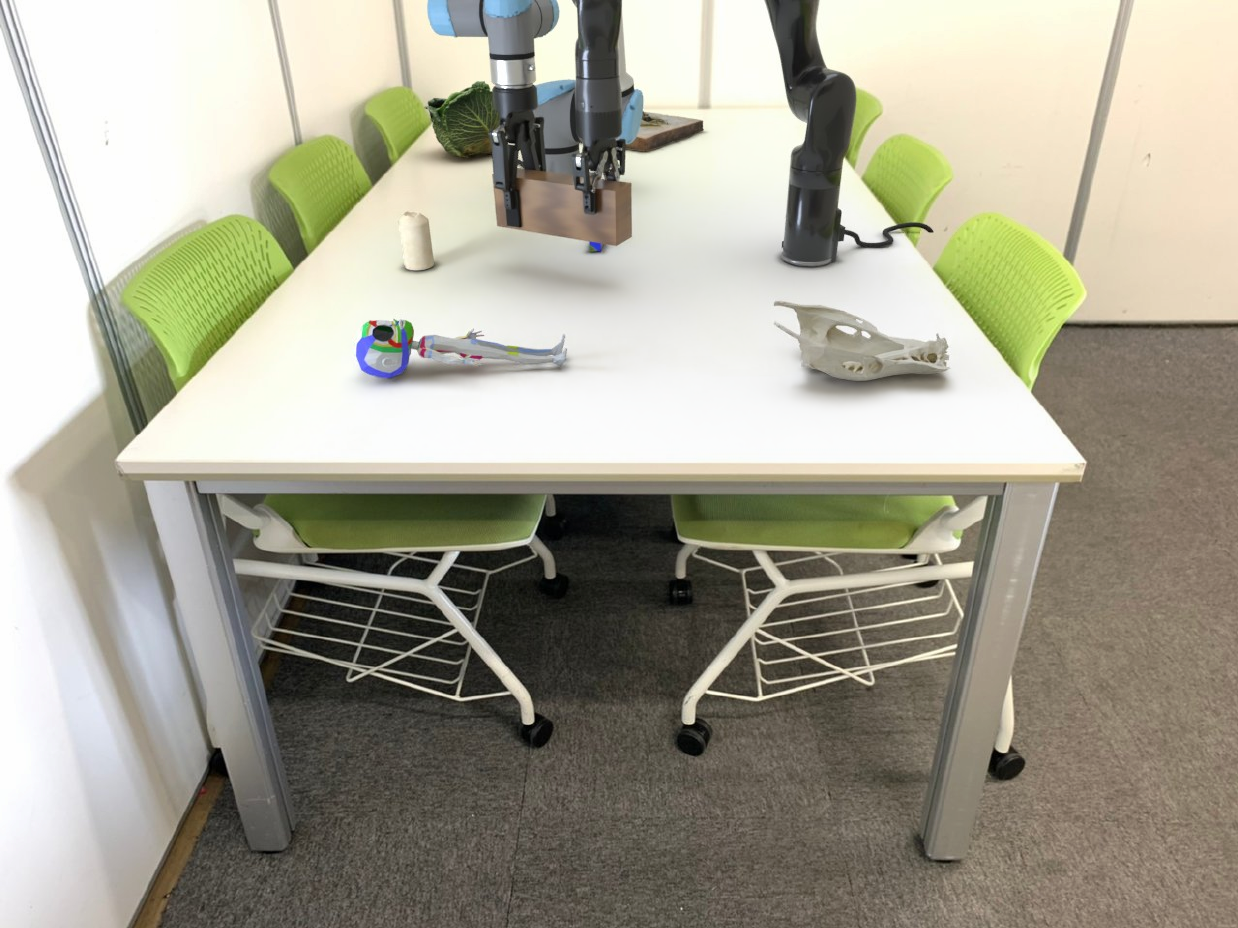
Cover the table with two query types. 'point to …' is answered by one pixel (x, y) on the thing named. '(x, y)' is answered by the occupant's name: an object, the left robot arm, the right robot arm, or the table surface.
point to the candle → (416, 241)
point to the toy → (435, 349)
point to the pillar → (595, 246)
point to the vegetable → (465, 120)
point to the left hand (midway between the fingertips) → (524, 221)
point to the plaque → (663, 130)
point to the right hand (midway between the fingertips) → (601, 208)
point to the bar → (569, 208)
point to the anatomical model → (860, 346)
